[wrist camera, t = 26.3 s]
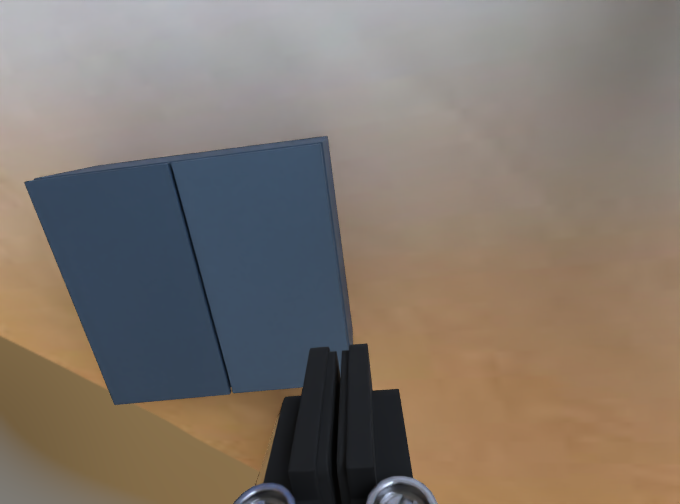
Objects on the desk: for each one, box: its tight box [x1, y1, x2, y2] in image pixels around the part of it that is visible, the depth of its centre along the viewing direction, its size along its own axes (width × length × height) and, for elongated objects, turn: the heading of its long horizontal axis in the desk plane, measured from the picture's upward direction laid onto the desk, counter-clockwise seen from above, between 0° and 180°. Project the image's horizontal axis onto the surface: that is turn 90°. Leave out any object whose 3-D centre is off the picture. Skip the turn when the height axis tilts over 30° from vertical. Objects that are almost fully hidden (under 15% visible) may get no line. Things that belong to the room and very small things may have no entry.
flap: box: [171, 144, 349, 393], centre depth 20 cm, size 14×7×1 cm, turn 7°
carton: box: [24, 136, 353, 405], centre depth 23 cm, size 14×15×6 cm
